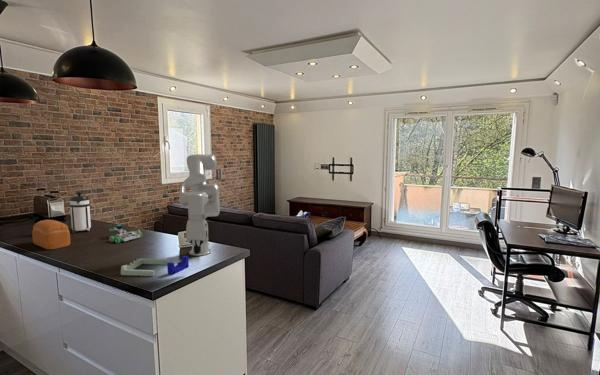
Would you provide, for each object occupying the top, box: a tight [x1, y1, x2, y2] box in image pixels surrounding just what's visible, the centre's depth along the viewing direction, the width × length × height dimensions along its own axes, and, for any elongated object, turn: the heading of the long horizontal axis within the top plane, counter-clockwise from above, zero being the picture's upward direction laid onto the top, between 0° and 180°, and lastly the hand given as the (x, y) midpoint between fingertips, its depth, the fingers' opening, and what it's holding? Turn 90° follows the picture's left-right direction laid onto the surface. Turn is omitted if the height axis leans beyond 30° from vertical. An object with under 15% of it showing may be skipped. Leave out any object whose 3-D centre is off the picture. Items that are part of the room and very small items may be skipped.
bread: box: [31, 219, 71, 250], centre depth 208 cm, size 14×26×16 cm, turn 56°
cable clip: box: [166, 255, 190, 276], centre depth 165 cm, size 12×4×6 cm, turn 160°
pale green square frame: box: [120, 258, 171, 277], centre depth 166 cm, size 17×17×4 cm
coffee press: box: [68, 191, 92, 234], centre depth 244 cm, size 17×16×30 cm
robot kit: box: [108, 224, 143, 244], centre depth 224 cm, size 19×25×9 cm
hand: (197, 253), depth 163 cm, fingers closed
